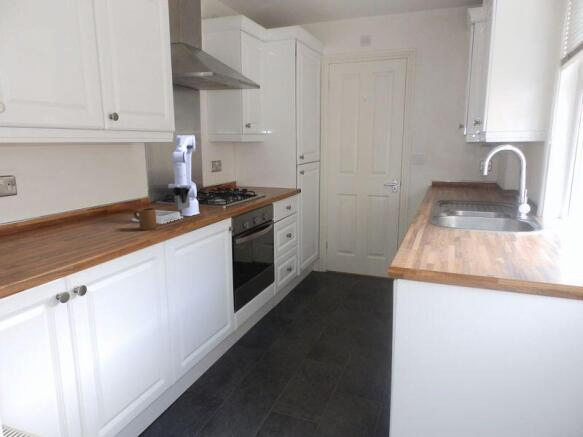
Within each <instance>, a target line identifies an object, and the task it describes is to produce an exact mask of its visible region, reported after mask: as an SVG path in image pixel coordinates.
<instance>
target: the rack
mask: <svg viewBox="0 0 583 437" xmlns="http://www.w3.org/2000/svg"><path fill="white" fill-rule="evenodd" d="M155 212H156V224H158V225H163V223H164V224H168V223H170V221H171V222H174V220H175V221H177V220H178V219H179V220H182V219H184V216H182V215H180V214H181V213H180V211H171V210H159V209H155ZM137 215H138V216H139V214H138V213H137ZM181 218H182V219H181ZM131 221H132V222H134V223H135V222H137V223H139V220H137V219H136V218H135V217H134V218H132V219H131ZM167 222H168V223H167Z"/></svg>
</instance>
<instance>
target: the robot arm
mask: <svg viewBox="0 0 583 437" xmlns="http://www.w3.org/2000/svg"><path fill="white" fill-rule="evenodd" d="M175 144H176V147H175V150H174V151H173V152H172V153H171V161H172V166H173V172H174V173H173V174H174V183H168V189H172V192H173V193H174V196H177V195H181V196H182V203H185V202H186V199H187V195H188V194H189V203H190V207H189V208H185V209H181V213H180V216H183V217H191V216H195V215H198V214H201V212H200V209H199V201H198V200H197V194H198V193H197V192H198V190H197V185H196V183H195V182H193V181H192V155H193V153H194V152H196V137H195V134H189V135H181V134H180V135H179V134H177V135H176V137H175Z"/></svg>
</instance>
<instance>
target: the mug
mask: <svg viewBox="0 0 583 437" xmlns="http://www.w3.org/2000/svg"><path fill="white" fill-rule="evenodd" d="M155 210H156V208H153V207H146V208H145V207H143V208H140V209H139V208H137V209H134V210H133V212H132V214H133V217H134V219H135V218H136V219H137V220H139V222H138V223H139V230H140V231H144V232H145V231H146V230H149V231H153V230H156V229H157V227H158V226H157V224H156V212H155ZM137 214H139V216H138V215H137Z"/></svg>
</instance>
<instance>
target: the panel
mask: <svg viewBox="0 0 583 437" xmlns="http://www.w3.org/2000/svg"><path fill="white" fill-rule="evenodd" d="M173 198H174V210H175V211H179V210H181V209H185V208H189V207H190V203H189V194H188V195H187V199H186V202H185V203H182V196H181V195H177V196H176V195H174V197H173ZM181 211H182V210H181Z"/></svg>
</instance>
